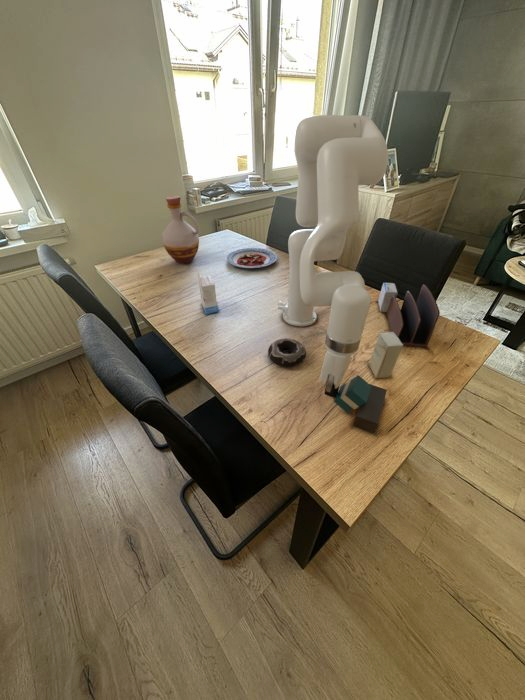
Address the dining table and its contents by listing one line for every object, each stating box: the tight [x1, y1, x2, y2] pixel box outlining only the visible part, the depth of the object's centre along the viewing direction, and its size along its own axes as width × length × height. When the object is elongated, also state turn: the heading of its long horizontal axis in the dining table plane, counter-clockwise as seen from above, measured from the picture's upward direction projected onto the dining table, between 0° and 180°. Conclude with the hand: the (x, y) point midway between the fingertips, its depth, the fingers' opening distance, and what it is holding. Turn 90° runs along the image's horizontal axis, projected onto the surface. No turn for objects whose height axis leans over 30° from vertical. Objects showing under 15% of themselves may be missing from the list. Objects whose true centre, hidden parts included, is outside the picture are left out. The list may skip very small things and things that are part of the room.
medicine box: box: [377, 282, 398, 313], centre depth 110 cm, size 8×4×9 cm, turn 168°
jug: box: [161, 195, 200, 264], centre depth 140 cm, size 20×18×30 cm
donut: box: [267, 337, 307, 368], centre depth 89 cm, size 12×12×4 cm
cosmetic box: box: [368, 331, 404, 379], centre depth 81 cm, size 6×4×12 cm
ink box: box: [196, 270, 219, 315], centre depth 108 cm, size 8×5×15 cm, turn 20°
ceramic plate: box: [226, 247, 278, 269], centre depth 148 cm, size 26×26×3 cm
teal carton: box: [333, 374, 372, 414], centre depth 73 cm, size 8×6×8 cm
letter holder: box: [386, 284, 441, 348], centre depth 97 cm, size 10×20×14 cm, turn 169°
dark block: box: [352, 383, 388, 435], centre depth 72 cm, size 5×12×4 cm, turn 152°
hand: (330, 394), depth 76 cm, fingers closed
